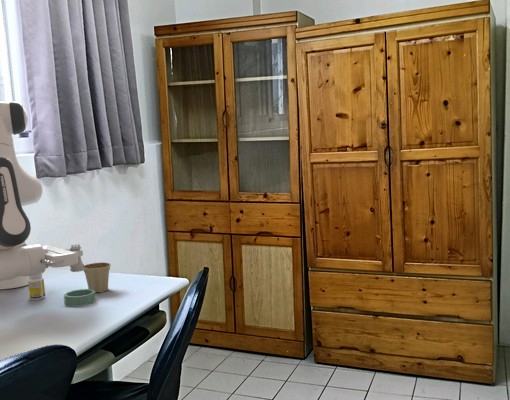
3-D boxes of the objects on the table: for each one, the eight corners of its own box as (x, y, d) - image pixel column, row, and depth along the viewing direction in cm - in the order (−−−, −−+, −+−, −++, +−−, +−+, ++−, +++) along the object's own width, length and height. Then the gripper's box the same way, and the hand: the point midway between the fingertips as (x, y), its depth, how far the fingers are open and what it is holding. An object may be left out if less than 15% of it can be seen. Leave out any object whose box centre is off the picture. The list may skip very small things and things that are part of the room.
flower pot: (105, 294, 192) (103, 268, 191) (78, 294, 194) (76, 268, 193) (117, 287, 201) (115, 262, 200) (92, 286, 203) (90, 262, 202)
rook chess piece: (67, 271, 184) (65, 245, 183) (80, 268, 187) (78, 243, 186) (74, 272, 181) (72, 247, 180) (87, 270, 184) (85, 244, 183)
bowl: (58, 303, 184) (57, 295, 183) (81, 296, 191) (81, 287, 191) (78, 307, 179) (77, 298, 178) (101, 299, 186) (100, 290, 186)
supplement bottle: (38, 295, 195) (36, 270, 194) (48, 297, 193) (46, 271, 192) (26, 299, 191) (24, 273, 190) (36, 300, 189) (34, 275, 188)
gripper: (48, 253, 167) (93, 245, 176) (21, 245, 182) (64, 238, 191) (49, 275, 167) (95, 266, 176) (22, 265, 182) (65, 258, 192)
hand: (78, 251), depth 184 cm, fingers closed on rook chess piece, 3 cm apart
